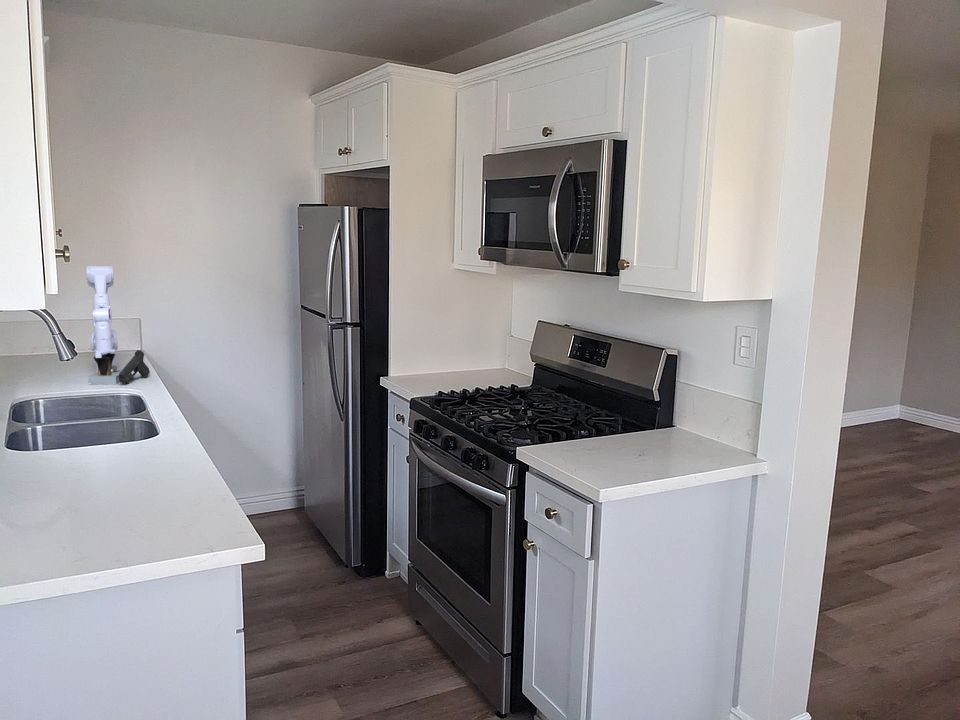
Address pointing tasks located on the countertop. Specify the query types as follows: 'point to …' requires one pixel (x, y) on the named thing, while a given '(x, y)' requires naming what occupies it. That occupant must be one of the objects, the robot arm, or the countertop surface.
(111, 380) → the socket block
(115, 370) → the round bit
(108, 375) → the square bit
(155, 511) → the countertop surface
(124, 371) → the handgun
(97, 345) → the robot arm
